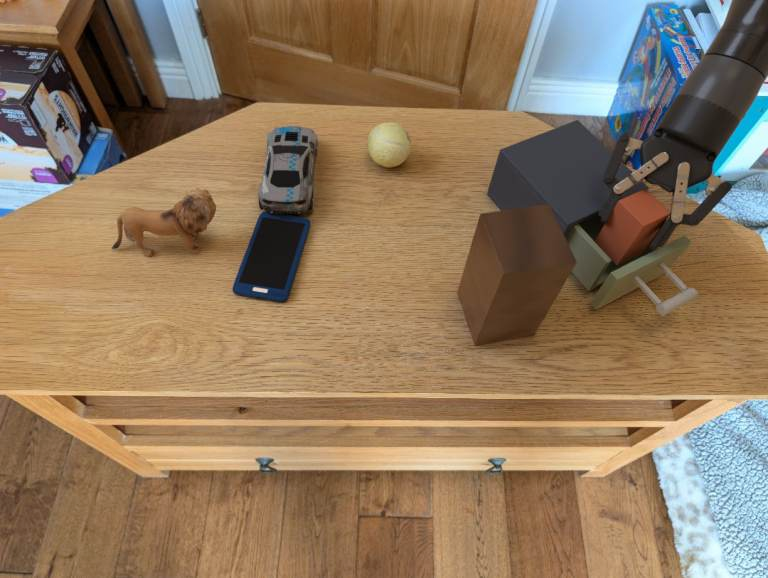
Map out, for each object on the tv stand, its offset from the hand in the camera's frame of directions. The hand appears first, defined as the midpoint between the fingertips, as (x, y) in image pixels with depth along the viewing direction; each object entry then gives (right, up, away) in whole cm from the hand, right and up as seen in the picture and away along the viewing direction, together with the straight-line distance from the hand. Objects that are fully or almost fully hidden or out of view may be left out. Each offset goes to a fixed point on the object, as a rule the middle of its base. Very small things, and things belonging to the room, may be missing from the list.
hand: (626, 235), depth 69 cm
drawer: (+1, -4, +7) cm, 8 cm away
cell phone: (-45, -2, +7) cm, 45 cm away
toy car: (-44, +10, +15) cm, 47 cm away
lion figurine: (-58, 0, +8) cm, 59 cm away
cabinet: (-5, +5, +14) cm, 15 cm away
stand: (-15, -10, +4) cm, 19 cm away
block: (+1, -1, +4) cm, 5 cm away
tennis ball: (-29, +13, +18) cm, 37 cm away
